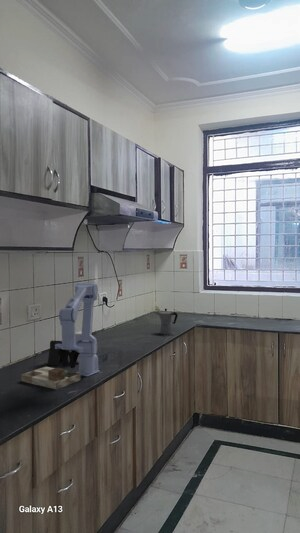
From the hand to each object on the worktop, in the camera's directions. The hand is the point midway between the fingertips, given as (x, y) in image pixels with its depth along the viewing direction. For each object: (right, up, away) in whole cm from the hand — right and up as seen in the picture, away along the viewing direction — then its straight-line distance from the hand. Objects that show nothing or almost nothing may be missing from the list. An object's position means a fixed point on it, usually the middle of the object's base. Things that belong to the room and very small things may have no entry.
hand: (69, 367), depth 172 cm
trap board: (-11, -9, +11) cm, 18 cm away
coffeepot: (+47, -5, +116) cm, 125 cm away
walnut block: (-6, -6, +4) cm, 10 cm away
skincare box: (-3, -8, +45) cm, 46 cm away
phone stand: (-15, -8, +41) cm, 44 cm away
